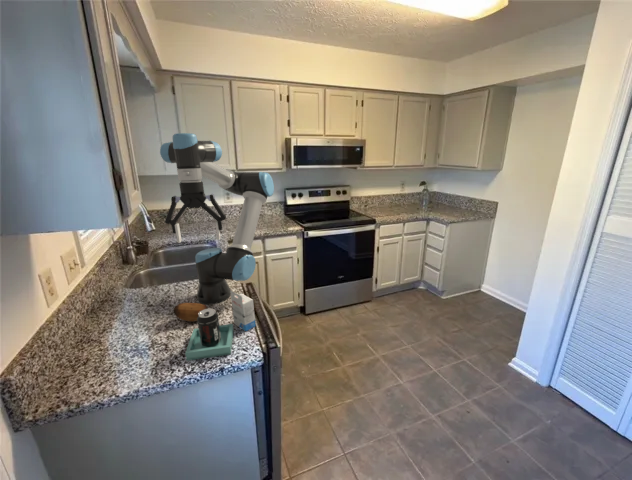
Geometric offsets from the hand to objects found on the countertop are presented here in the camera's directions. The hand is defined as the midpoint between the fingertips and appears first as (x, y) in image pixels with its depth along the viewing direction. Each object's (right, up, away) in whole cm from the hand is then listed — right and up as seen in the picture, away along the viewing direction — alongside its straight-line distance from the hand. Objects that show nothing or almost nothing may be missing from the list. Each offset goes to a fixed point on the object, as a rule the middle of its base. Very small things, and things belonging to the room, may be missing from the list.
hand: (199, 240), depth 106 cm
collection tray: (+6, -37, -3) cm, 37 cm away
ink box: (+14, -34, +9) cm, 37 cm away
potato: (-8, -33, +13) cm, 36 cm away
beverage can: (+5, -36, -3) cm, 37 cm away
